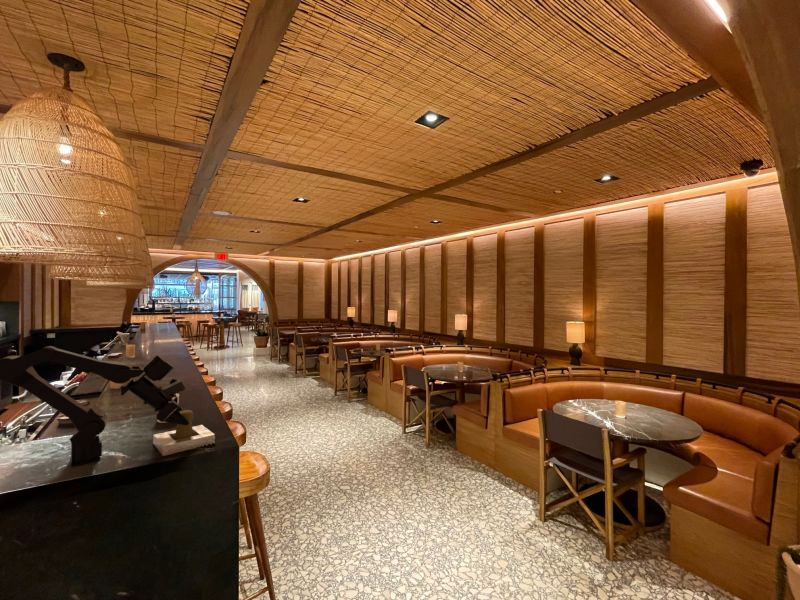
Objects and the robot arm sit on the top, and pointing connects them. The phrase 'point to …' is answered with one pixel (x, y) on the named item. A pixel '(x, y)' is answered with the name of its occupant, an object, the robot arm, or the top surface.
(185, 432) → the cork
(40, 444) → the top surface
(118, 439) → the top surface
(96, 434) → the robot arm
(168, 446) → the socket block
